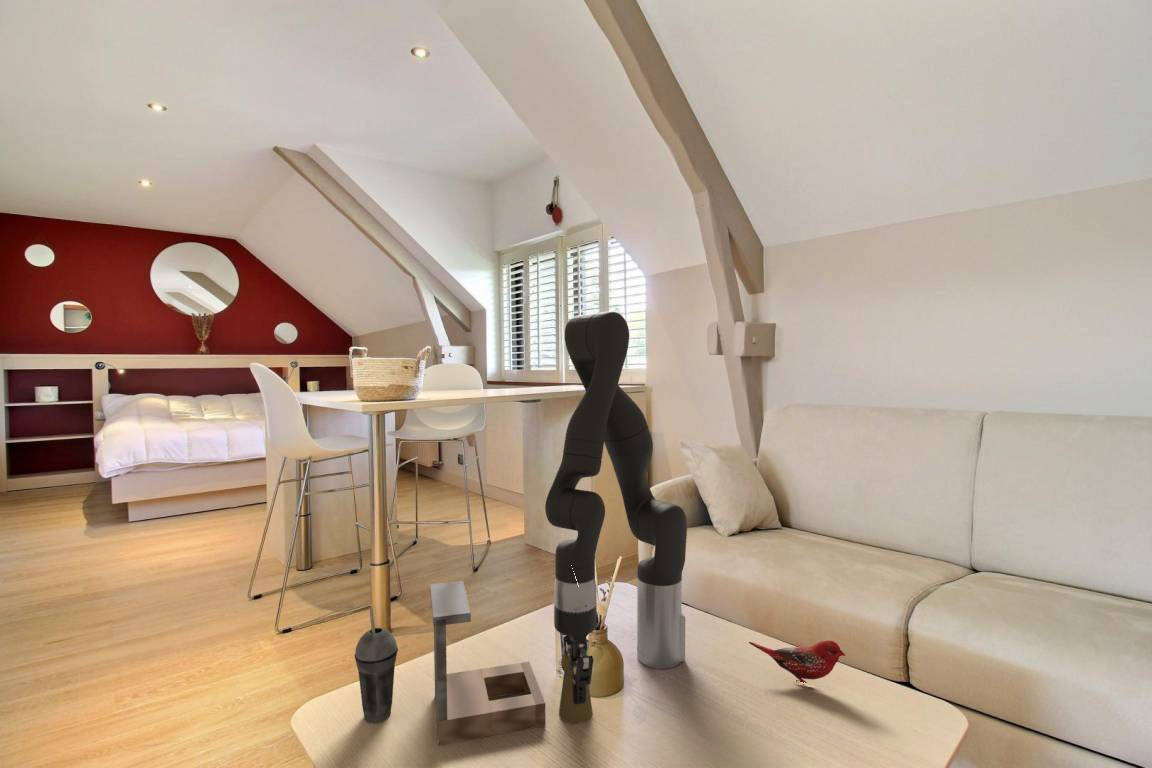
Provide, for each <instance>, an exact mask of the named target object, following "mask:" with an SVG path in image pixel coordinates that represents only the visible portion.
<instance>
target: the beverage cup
mask: <svg viewBox="0 0 1152 768" xmlns="http://www.w3.org/2000/svg"><path fill="white" fill-rule="evenodd" d="M369 618H370V626H371V628H370V629H369V630H367V631H366V632H365V633H364V634H362V636H360V638H359V640H358V642H357V644H356V646H355V651H354V660H355V664H356V668H357V672H358V678H359V679H358V681H359V690H360V697H361V706H362V712H363V718H364V719H363V720H364V721H365V723H367V724H380V723H383V722H385V721H387V720H388V719H389V718H390V717H391V714H392V706H393V697H394V696H393V695H394V683H395V678H394V677H395V667H396V661H397V655H398V651H399V648H398V645H397V640H396V638H395V636H394V635H393V633H392V632H391V631H390V630H388V629H386V628H382V627H375V619H374V610H373V607H369Z"/></svg>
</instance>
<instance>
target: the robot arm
mask: <svg viewBox="0 0 1152 768" xmlns="http://www.w3.org/2000/svg"><path fill="white" fill-rule="evenodd" d="M629 328H630V327H629V325H628V322H627V320H626V319H625V317H624V316H622V314H620V313H619V312H617V311H613V310H612V311H600V312H593V313H585V314H579V315H575V316H573V317H571V318H569V320H568V322H567V323H566V325H565V329H564V342H565V348H566V350H567V353H568V356H569V358H570V360H571V362H572V364H573V368H574V369H575V372H576V373H577V375H578V377H579V379H580V381H581V384H582V386H583V388H584V390H585V393H584V395H583V396H582V398H581V399H580V402H578V405H577V406H576V408H575V410H574V411H573V413H572V415H571V417H570V418H569V420H568V421H569V422H568V424H567V428H566V432H565V435H564V436H565V437H564V444H563V445H564V446H563V450H562V453H563V454H562V458H561V463H560V465H559V467H558V470H557V472H556V475H555V477H554V480H553V482H552V484H551V487H550V489H549V491H548V494H547V497H546V500H545V507H544V510H545V515H546V519H547V521H548V522H549V524H550V525H551V526H553V527H555V528H556V527H557V528H560V529H565V530H572V531H575V532H576V531H577V537H576V539H568V540H564V541H561V542H560V543H558V545H557V546H556V548H555V553H554V555H555V558H554V562H555V565H554V566H555V571H554V573H555V577H554V578H555V579H554V585H553V586H554V587H553V588H554V589H553V601H554V602H553V618H554V619H553V621H554V622H553V625H554V628H555V630H556V631H557V632H558V633H559V637H560V638H559V639H560V649H561V650H560V651H561V657H562V656H563V654H564V653H565V652H568V662H569V668H570V669H571V670H572V671H573V672H572V682H573V702H574V704H582V703H585V701H586V685H589V686H590V685H591V683H592V674H593V666H594V657H593V655H589V651H590V643H589V642H590V641H589V639H587V637H588V635H590V634H591V633H592V632H594V631H595V630H596V628H597V623H598V622H597V617H598V616H597V614H598V613H597V611H598V610H597V605H598V604H597V600H598V599H597V584H596V583H597V582H596V552H597V551H596V550H597V547H598V542H599V538H600V536H601V535H600V534H601V531H602V527H603V525H604V521H605V516H606V507H605V502H604V500H603V497H601V495H600V494H598V493H597V492H595V491H591V490H584V489H577V485H578V483H579V482H580V481H581V479H583V478H592V477H595V476H598V475H599V473H600V472H601V467H602V459H603V454H604V445H605V448H606V452H607V454H608V457H609V458H610V461H611V464H612V468H613V470H614V474H615V477H616V480H617V482H618V486H619V490H620V493H621V497H622V501H623V505H624V510H625V514H626V520H627V524H628V526H629V529H630V531H631V533H632V535H633V536H634V537H635V538H636V539H637V540H639V541H640V542H642V543H645V544H649V545H651V546H654V554H653V555H654V556H652V557H651V556H650V557H647V558H646V557H645V558H644V559H642V560H640V561H639V562H638V565H637V570H636V571H637V573H636V574H637V575H636V576H637V580H636V581H637V582H636V583H637V587H636V589H637V590H636V591H637V593H636V594H637V597H636V598H637V601H636V602H637V606H636V608H637V610H636V614H637V615H636V617H637V619H636V620H637V621H636V622H637V623H636V624H637V625H636V630H637V631H636V637H637V638H636V640H637V641H636V642H637V643H636V652H637V653H636V657H637V660H638V661H639V662H640V663H641V664H643V665H645V666H647V667H649V668H652V669H653V668H654V669H658V670H659V669H661V670H662V669H671V668H674V667H676V666H678V665H680V663H683V662H686V616H685V615H684V614H683V613H682V612H683V611H682V604H683V603H682V602H683V600H682V599H683V597H682V596H683V595H682V589H683V586H682V584H683V581H682V580H683V579H682V578H683V570H684V567H685V563H686V551H687V550H686V549H687V539H688V536H687V535H688V521H687V516H686V513H685V511H684V509H683V508H682V507H681V506H680V505H677V504H674V503H670V502H666V501H664V500H659V499H656V498H655V496H654V495H653V492H652V490H651V487H650V484H649V480H648V470H649V466H650V464H651V461H652V456H653V452H654V442H653V438H652V435H651V432H650V429H649V426H648V423H647V420H646V416H645V415H644V413H643V411H642V410H641V408H640V407H639V406H638V404H637V403H636V402H635V401H634V400H633V399H632V398H631V397H630V395H628V394H627V392H626V391H624V389H623V388H622V387H621V386H620V385H619V381H620V378H621V374H622V371H623V368H624V364H625V361H626V357H627V354H628V350H629V345H630V329H629ZM571 565H572V566H571ZM572 568H573V569H572ZM573 571H574V572H573ZM574 573H575V575H574ZM575 576H576V579H577V581H576V579H575ZM577 582H578V585H579V587H578V585H577ZM588 655H589V656H588ZM573 661H575V662H576V663H577V665H573Z"/></svg>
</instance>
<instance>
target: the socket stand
mask: <svg viewBox="0 0 1152 768" xmlns="http://www.w3.org/2000/svg"><path fill="white" fill-rule="evenodd" d="M464 583H465V582H464V580H460V581H459V580H458V581H451V582H450V581H449V582H440V583H430V585H429V586H430V592H429V593H430V602H431V603H430V604H431V612H432V613H431V614H432V615H431V616H432V626H433V650H434V651H433V653H434V654H433V655H434V656H433V657H434V659H433V660H434V661H433V662H434V663H433V664H434V665H433V666H434V701H435V715H436V719H435V720H436V728H437V729H436V730H437V731H436V732H437V744H438V746H441V745H446V744H453V743H457V742H463V741H469V740H473V739H474V740H475V739H480V738H484V737H491V736H497V735H501V734H507V733H512V732H517V731H522V730H528V729H533V728H538V727H539V728H540V727H545V726H546V701H545V698H544V696H543V694H542V691H541V688H540V686H539V683H538V681H537V678H536V675H535V672H534V670H533V667H532V665H531V663H530V661H523V662H517V663H516V662H515V663H509V664H503V665H497V666H492V667H485V668H478V669H471V670H464V671H457V672H451V673H450V672H449V673H448V672H447V671H448V670H447V669H448V668H447V663H448V662H447V625H448V626H449V625H457V624H464V623H471V621H472V620H471V619H472V615H471V614H472V613H471V607H470V604H469V600H468V599H469V598H468V595H467V591H466V587H465V584H464ZM522 693H523V695H518V696H513V697H506V698H500V699H495V700H493V699H492V698H496V697H503V696H509V695H510V696H511V695H514V694H515V695H516V694H522ZM490 698H491V699H492V700H490Z"/></svg>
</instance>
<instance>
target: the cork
mask: <svg viewBox="0 0 1152 768" xmlns="http://www.w3.org/2000/svg"><path fill="white" fill-rule="evenodd" d="M588 656H590V655H589V654H588ZM560 665H561V669H562V671H563V678H562V684H561V685H562V686H561V692H560V693H561V694H560V700H559V701H560V702H559V709H558V715H559V717H560V719H562V720H563V721H564V722H565V723H566V722H567V723H568V724H569V723H570V724H582V723H586V722H587V721H589V720H590V719H591V718H592V717H593V707H592V700H591V699H592V698H591V692H590V685H586V701H585V703H582V704H574V702H573V682H572V672H573V671H572V670H571V669H570V668H569V662H568V652H565V653H564V654H563V656H561V659H560ZM573 665H577V663H576V662H575V661H573Z"/></svg>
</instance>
